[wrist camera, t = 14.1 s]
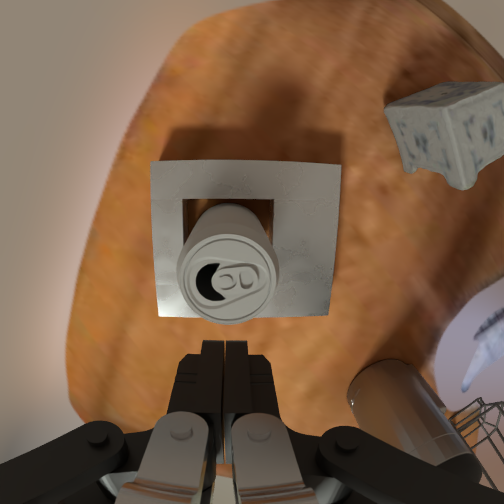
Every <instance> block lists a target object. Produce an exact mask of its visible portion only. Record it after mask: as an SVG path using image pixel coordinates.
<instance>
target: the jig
mask: <svg viewBox="0 0 504 504" xmlns="http://www.w3.org/2000/svg"><path fill="white" fill-rule="evenodd" d="M340 183H341V165H335V164H322V163H307V162H289V161H264V160H175V161H151V216H152V238H153V254H154V268H155V281H156V292H157V302H158V311H159V316H167V317H200V316H199V315H198V314H196V313H195V312H194V311H193V310H192V309H191V308H190V307H189V306H188V304H187V303H186V301H185V300H184V298H183V295H182V293H181V291H180V288H179V285H178V282H177V275H176V267H177V261H178V258H179V255H180V252H181V250H182V248H183V246H184V244H185V243H186V241H187V239H188V213H187V199H270V211H269V241H270V243H271V245H272V247H273V249H274V251H275V253H276V255H277V258H278V262H279V281H278V285H277V288H276V290H275V293H274V295H273V297H272V299H271V301H270V302H269V304H268V305H267V307H266V308H265V309H264V310H263V311H262V312H261V313H260V314H258V315H257V316H255V317H299V316H325V315H328V312H329V305H330V297H331V289H332V280H333V271H334V262H335V251H336V240H337V229H338V216H339V201H340Z"/></svg>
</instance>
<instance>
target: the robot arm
mask: <svg viewBox="0 0 504 504" xmlns="http://www.w3.org/2000/svg"><path fill="white" fill-rule="evenodd" d="M347 400H348V403H349V405H350V407H351V411H352V413H353V414H354V416H355V419H356V421H357V423H358V425H359V428H360V429H359V428H356V427H351V426H338V427H334V428H331V429H329V430H328V431H326V432H325V433H324V434H323V435H322V436H321V437H319V436H312V435H305V434H301V433H298V432H295V431H293V430H291V429H290V428H288V427H287V426H286V425H285V424H284V423H283V422H282V420H281V418H280V414H279V408H278V402H277V397H276V391H275V386H274V380H273V376H272V369H271V363H270V362H269V361H268V360H267V359H266V358H265V357H264V356H263V355H248V346H247V341H226V351H225V348H224V341H217V340H203V342H202V349H201V354H187V355H186V356H185V357H184V358H183V359H182V360H181V361H180V362H179V365H178V369H177V375H176V377H175V383H174V385H173V389H172V393H171V398H170V402H169V406H168V410H167V414H166V415H164V416H163V417H161V418H160V419H159V420H158V421H157V422H156V424H155V426H154V428H153V429H150V430H147V431H143V432H136V433H127V434H123V432H122V430H121V429H120V428H119V427H118V426H117V425H115V424H113V423H111V422H107V421H92V422H89V423H86V424H84V425H82V426H80V427H78V428H76V429H74V430H72V431H70V432H68V433H66V434H64V435H63V436H60V437H58V438H56V439H54V440H52V441H50V442H48V443H46V444H44V445H42V446H40V447H38V448H36V449H33V450H31V451H29V452H27V453H25V454H23V455H20V456H18V457H16V458H14V459H11V460H9V461H7V462H5V463H2V464H0V504H212V501H213V493H214V486H215V478H216V464H224V436H225V454H226V464H232V473H233V489H234V497H235V504H504V493H503V492H500V491H497V490H494V489H492V488H489V487H486V486H483V485H481V484H478V483H479V482H480V479H481V477H482V469H481V466H480V464H479V463H478V461H477V460H476V458H475V457H474V456H473V454H472V453H471V451H470V450H469V449H468V447H467V446H466V444H465V443H464V441H463V440H462V439H461V437H460V436H459V435H458V433H457V432H456V430H455V429H454V428H453V426H452V425H451V424H450V422H449V421H448V420H447V418H446V417H445V415H444V414H445V412H446V406H445V405H444V403H443V402H442V401H441V399H440V398H439V397H438V396H437V394H436V393H435V392H434V390H433V389H432V388H431V387H430V385H429V384H428V383H427V382H426V380H425V379H424V378H423V377H422V375H421V374H420V373H419V372H418V370H417V369H416V368H415V367H414V366H413V364H411V365H406V364H405V363H403V362H402V361H399V360H395V359H389V360H383V361H380V362H377V363H375V364H373V365H371V366H369V367H368V368H366V369H365V370H363V371H362V372H361V373H360V374H359V375H358V376H357V377H356V378H355V379H354V380H353V382H352V384H351V385H350V387H349V390H348V394H347Z"/></svg>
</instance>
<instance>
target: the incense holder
mask: <svg viewBox="0 0 504 504" xmlns="http://www.w3.org/2000/svg"><path fill="white" fill-rule="evenodd" d="M384 113H385V115H386V117H387V119H388V122H389V124H390V127H391V129H392V131H393V134H394V137H395V139H396V142H397V145H398V148H399V151H400V155H401V159H402V163H403V168H404V171H405V172H407V173H410V174H412V173H414V172H415V171H416V170H417V168H419V167H421V168H423V169H427V170H430V171H432V172H437V173H441V174H442V175H444V177H445V178H446V180H447V183H448V184H449V185H450V186H452V187H454V188H456V189H459V190H467V189H469V188H471V187H472V186H473V185H474V184H475V182H476V180H477V174H478V172H479V171H480V170H481V169H483V168H484V167H485V166H486V165H488V164H489V163H491V162H493V161H495V160H496V159H498V158H500V157H502V156H503V155H504V83H503V82H443V83H440V84H437V85H435V86H433V87H430V88H428V89H425V90H423V91H420V92H417V93H414V94H412V95H410V96H407V97H404V98H402V99H399V100H396V101H394V102H391V103H389V104H387V105H386V106H385V107H384Z"/></svg>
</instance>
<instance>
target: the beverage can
mask: <svg viewBox="0 0 504 504" xmlns="http://www.w3.org/2000/svg"><path fill="white" fill-rule="evenodd" d="M176 275H177V282H178V285H179V288H180V291H181V293H182V295H183V298H184V300H185V301H186V303H187V304H188V306H189V307H190V308H191V309H192V310H193V311H194V312H195V313H196V314H198V315H199V316H200V317H202V318H204V319H206V320H208V321H211V322H214V323H218V324H226V325H229V324H238V323H242V322H245V321H248V320H250V319H252V318H254V317H255V316H257V315H258V314H260V313H261V312H262V311H263V310H264V309H265V308H266V307H267V305H268V304H269V302H270V301H271V299H272V297H273V295H274V293H275V290H276V288H277V285H278V281H279V262H278V258H277V255H276V253H275V251H274V249H273V247H272V245H271V243H270V241H269V239H268V237H267V235H266V233H265V231H264V229H263V227H262V225H261V223H260V221H259V219H258V218H257V216H256V215H255V214H254V213H253V212H252V211H251V210H249V209H248V208H246V207H244V206H242V205H239V204H235V203H222V204H218V205H215V206H213V207H211V208H209V209H208V210H207V211H205V212H204V213H203V214H202V215H201V217H200V218H199V220H198V221H197V223H196V225H195V227H194V228H193V230H192V232H191V234H190V235H189V237H188V239H187V241H186V243H185V244H184V246H183V248H182V250H181V252H180V255H179V258H178V261H177V267H176Z"/></svg>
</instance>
